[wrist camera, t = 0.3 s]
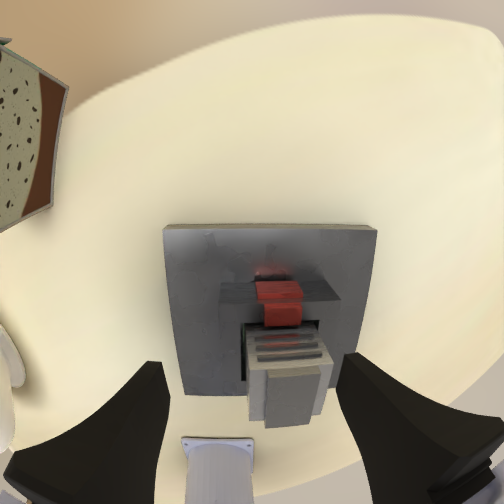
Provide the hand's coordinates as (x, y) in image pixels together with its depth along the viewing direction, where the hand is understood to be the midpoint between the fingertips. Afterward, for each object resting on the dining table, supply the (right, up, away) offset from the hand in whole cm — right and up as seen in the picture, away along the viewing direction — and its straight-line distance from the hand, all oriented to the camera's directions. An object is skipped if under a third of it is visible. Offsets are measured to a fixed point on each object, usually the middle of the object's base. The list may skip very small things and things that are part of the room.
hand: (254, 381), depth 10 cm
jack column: (+1, 0, +9) cm, 9 cm away
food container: (-18, +13, +5) cm, 23 cm away
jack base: (+1, 0, +10) cm, 10 cm away
